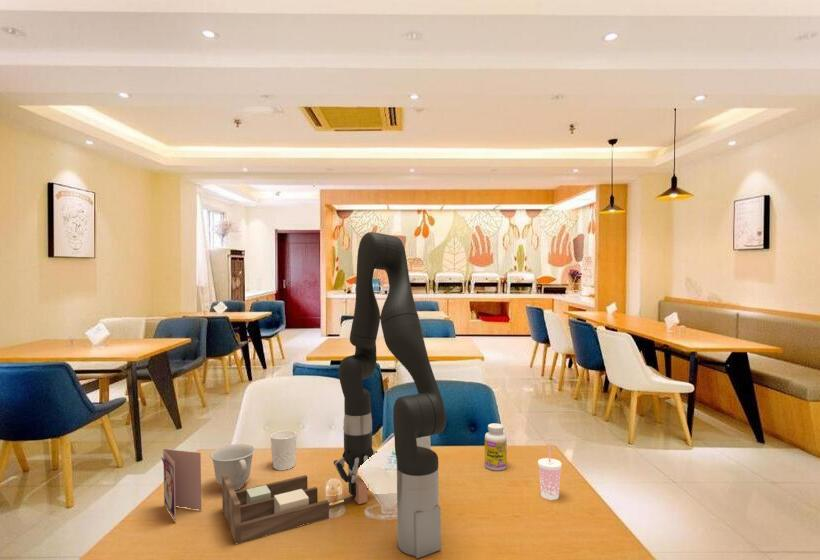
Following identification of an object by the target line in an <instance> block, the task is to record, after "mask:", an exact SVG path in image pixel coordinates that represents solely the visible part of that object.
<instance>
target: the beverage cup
mask: <svg viewBox="0 0 820 560" xmlns="http://www.w3.org/2000/svg"><path fill="white" fill-rule="evenodd" d="M551 445H552V444H551V443H548V457H544V458H540V459H538V461H537V465H538V471H539V484H540V496H541V497H542V498H543V499H545V500H550V501H551V500H552V501H553V500H558V499H559V498H560V486H561V485H560V483H561V482H560V481H561V470H562V465H563V464H562V462H561V461H560V460H558V459H556V458H551V455H552V454H551V447H552V446H551Z"/></svg>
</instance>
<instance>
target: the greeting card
mask: <svg viewBox="0 0 820 560" xmlns="http://www.w3.org/2000/svg"><path fill="white" fill-rule="evenodd" d="M162 453H163V454H162V455H163V457H162V456H160V459H161V461H162V464H163V499H164V500H163V504H164V505H165V506H166V508H167V509H168V511H169V512H170V514H171V515H172V517H173V518H174V520H175V522H176V523H177V521H176V520H177V517H176V511H177V510H176V509H177V508H176V506H179V507H187V508H191V509H199V510H201V511H202V466H201V465H202V463H201V462H202V461H201V460H202V459H201V452H195V451H193V452H192V451H186V450H185V451H184V450H175V449H167V448H163V451H162ZM164 505H163V506H164ZM166 508H165V509H166ZM168 511H167V512H168ZM170 514H169V515H170ZM172 517H171V518H172ZM174 520H173V521H174ZM175 522H174V523H175Z"/></svg>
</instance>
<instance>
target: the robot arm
mask: <svg viewBox="0 0 820 560" xmlns="http://www.w3.org/2000/svg"><path fill="white" fill-rule="evenodd" d="M404 245H405V244H404V242H403V241H402V240H401V238H399V237H398V236H395V235H391V234H385V233H380V232H372V231H370V232H366V233H364V235H363V236H362V237H361V239H360V241H359V244H358V247H357V248H358V249H357V257H356V276H355V277H356V278H355V304H354V306H355V307H354V313H353V318H352V323H351V329H350V332H349V333H350V334H349V343H350V344H351V345H352V346H354V347H355V350H354V354H352V355H348V356H346V357H344V358H343V359H341V361H340V362H339V363H340V364H339V366H338V379H339V382H340V386H341V387H340V388H341V391H342V394H343V398H344V401H343V403H344V409H343V410H344V415H343V416H344V417H343V427H342V429H343V454H342V457H340V458H339V459H338V460H337V459H334V461H333V465H334V467H335V470H337V472H338V474H339V477H340V478H341V479H342V480H343V481H344V482H345V483H348V493H349V495H350V494H351V495H352V496H353V497H354V496H356V482H355V481H356V475H358V470H359V469H360V468H359V467H360V465H362V464H363V463H364V462H365V461H366V460H367V459H369V457H371V456H372V455H374V454H375V453H377V452H378V451H377V450H376V451H374V449H373V418H372V398H371V397H372V396H371V392H370V390H368V389H365V388H364V386H363V380H366V379H368V378H370V377H372V375H373V374H374V372H375V370H376V366H377V343H376V342H377V338H378V334H379V333H378V332H379V328H380V326H381V330H382V334H383V339H384V343H385V346H386V347H387V349H388V350H389V353H391V354H392V355H393V356H394V357H395V359H396V360H397V361H398V362H399V363H400V364H401V365H402V366H403V367H404V368H405V370H406V371H407V372H408V373H409V375H410V376H411V378H412V381H413V382H414V384H415V387H416V389H417V390H416V391H417V393H415V394H408V395H404V396H399V397H398V398H396V400H395V402H394V405H393V409H392V410H393V411H392V420H393V435H394V453H395V458H396V514H397V515H396V520H397V523H396V525H397V526H396V527H397V532H396V533H397V546H398V547H397V548H398V549H399V550H400V551H401V552H402V553H404V554H406V555H408V556H414V557H415V558H416V559H420V558H423V557H425V556H428V555H431V554H434V553H436V552H439V551H441V550H442V525H441V524H442V523H441V522H442V520H441V519H442V518H441V516H442V515H441V514H442V511H441V510H442V509H441V506H440V505H439V503H440V500H439V495H440V494H439V487H440V486H439V456H438V454H437V453H436V451H434V450H433V449H431V450H430V449H428V448H424V447H419V446H417V441H416V438H420V437H425V436H430V437H431V436H434V435H439V434H442V433H443V432H444V430H445V428H446V425H447V415H446V408H445V405H444V400H443V398H442V396H441V395H442V394H441V392H440V389H439V385H438V382H437V381H436V378H435V375H434V372H433V368H432V364H431V363H430V362H431V361H430V359H429V355H428V351H427V348H426V347H427V346H426V343H425V340H424V339H425V338H424V335H423V330H422V326H421V322H420V317H419V313H418V311H417V307H416V303H415V299H414V294H413V290H412V286H411V279H410V274H409V267H408V259H407V255H406V248H405V246H404ZM375 270H381V271H385V272H386V276H387V279H388V293H387V296H386V299H385V301H384V303H383V306H382V308H381V312H380V307H379V304H378V300H377V298H376V295H375V291H374V286H373V280H374V279H373V278H374V274H375V273H374V272H375ZM380 324H381V325H380ZM371 458H372V457H371ZM345 463H346V465H347V472H346V470H345V469H344V468H345ZM347 473H348V474H347ZM368 491H369V487H368V488H367V492H368Z"/></svg>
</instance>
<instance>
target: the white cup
mask: <svg viewBox="0 0 820 560" xmlns="http://www.w3.org/2000/svg"><path fill="white" fill-rule="evenodd" d="M297 437H298V436H297V432H296V431H294V430H279V431H275V432H273V433H271V434H270V447H271V448H270V449H271V459H272V468H273V469H274V468H275V469H277V470H276V471H287V470H286V469H288V470H291V469H293V468H294V467H295V466H296V456H297V455H296V454H297ZM292 467H293V468H292ZM290 468H291V469H290ZM275 469H274V470H275Z"/></svg>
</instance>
